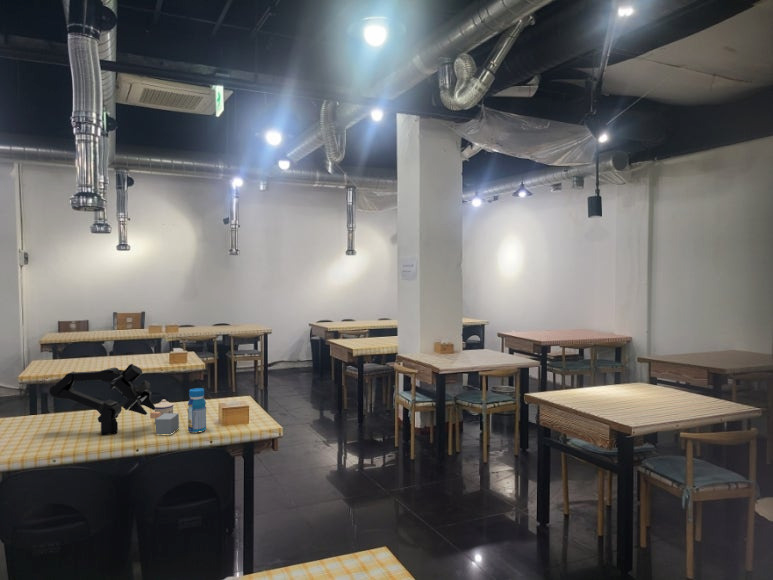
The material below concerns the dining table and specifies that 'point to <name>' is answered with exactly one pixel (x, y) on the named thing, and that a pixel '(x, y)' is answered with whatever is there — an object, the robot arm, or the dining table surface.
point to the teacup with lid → (164, 407)
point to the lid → (163, 417)
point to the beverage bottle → (196, 410)
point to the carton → (167, 425)
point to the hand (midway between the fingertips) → (150, 411)
